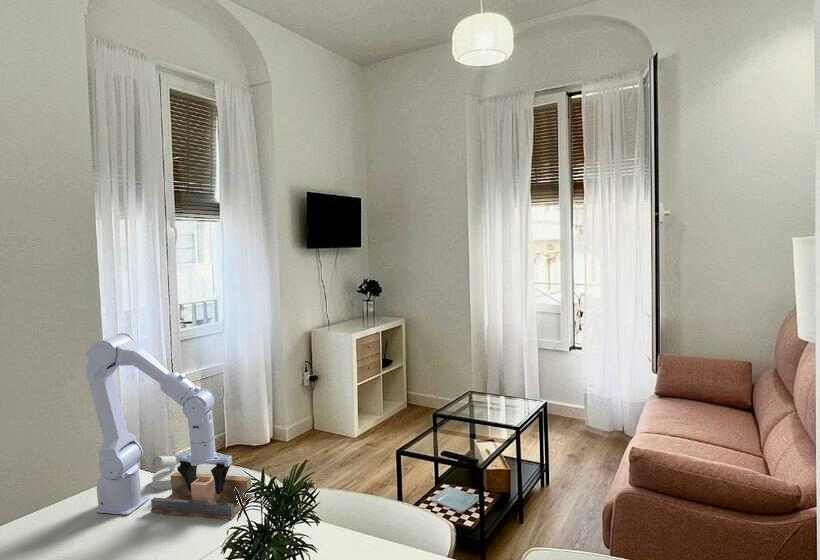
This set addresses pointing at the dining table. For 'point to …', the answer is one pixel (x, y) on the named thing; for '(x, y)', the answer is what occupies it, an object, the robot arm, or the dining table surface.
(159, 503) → the lip
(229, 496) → the wall board
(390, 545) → the dining table surface
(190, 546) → the dining table surface
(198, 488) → the cabinet block
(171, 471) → the wall hook
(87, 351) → the robot arm
